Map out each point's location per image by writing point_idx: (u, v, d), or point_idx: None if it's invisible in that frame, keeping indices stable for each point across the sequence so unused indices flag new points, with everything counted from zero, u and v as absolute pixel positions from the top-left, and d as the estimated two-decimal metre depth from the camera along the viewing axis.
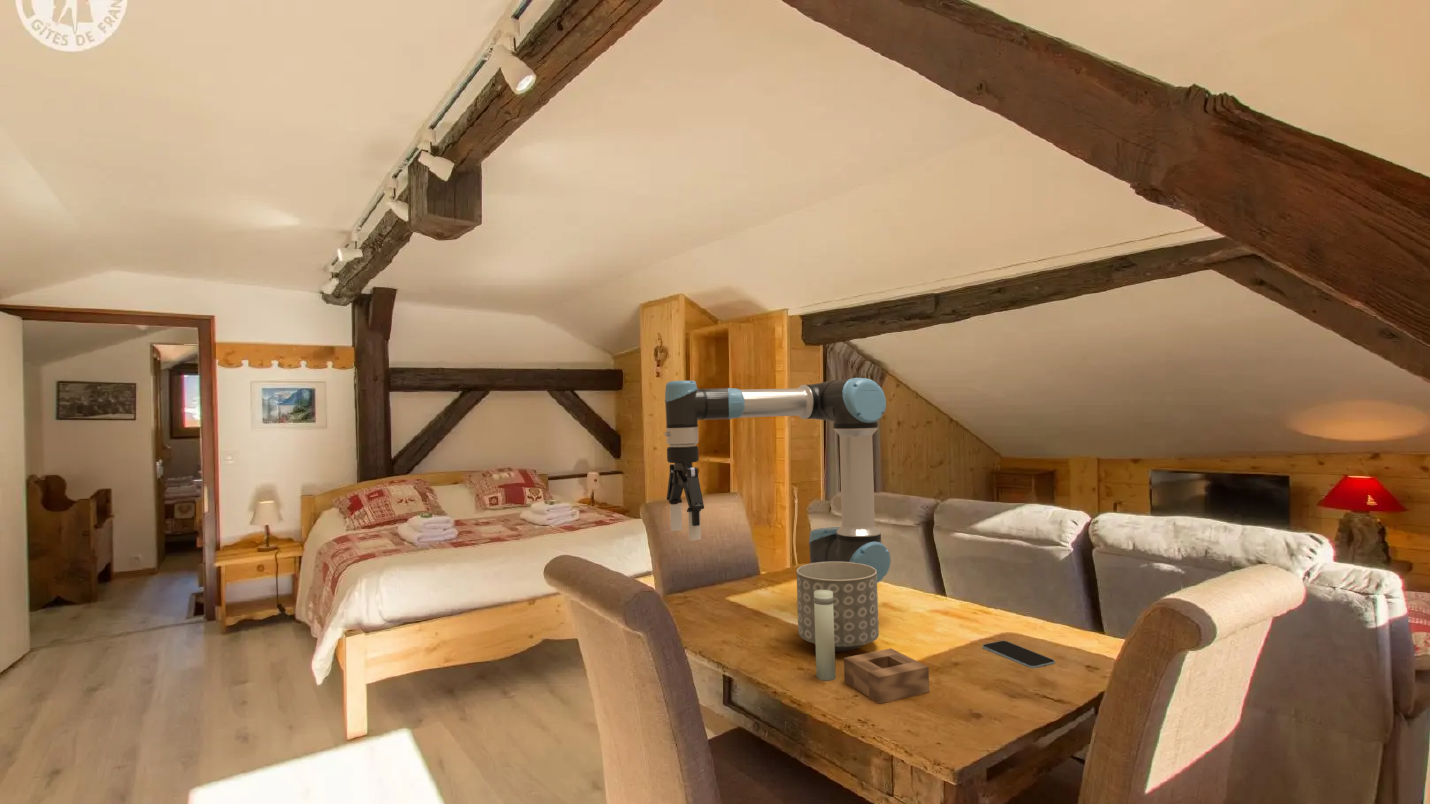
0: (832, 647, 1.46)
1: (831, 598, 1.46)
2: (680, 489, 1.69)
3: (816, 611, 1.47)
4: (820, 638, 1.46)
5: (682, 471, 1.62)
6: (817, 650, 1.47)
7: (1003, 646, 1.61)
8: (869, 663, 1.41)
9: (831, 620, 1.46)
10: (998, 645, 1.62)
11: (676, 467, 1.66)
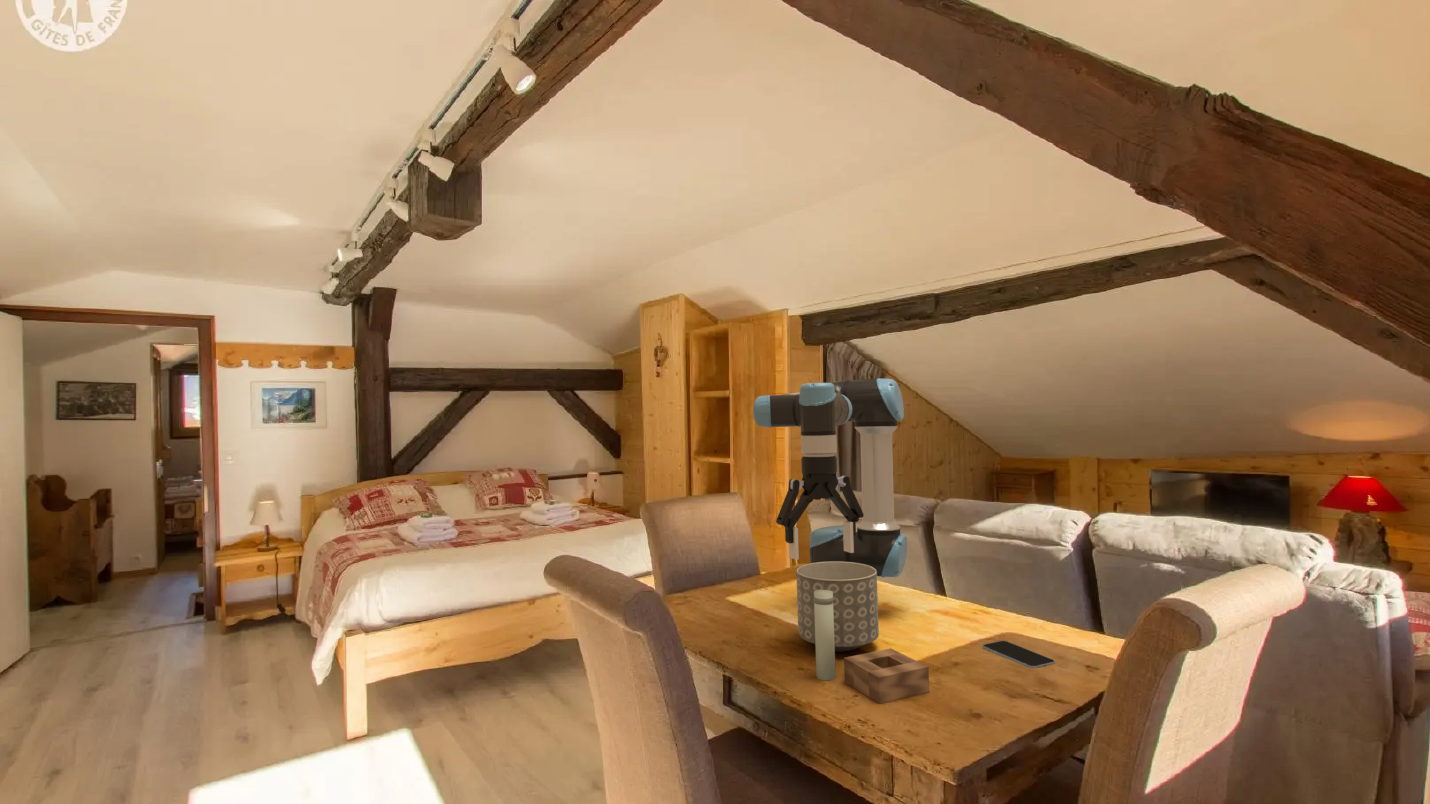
0: (832, 647, 1.46)
1: (831, 598, 1.46)
2: (838, 505, 1.49)
3: (816, 611, 1.47)
4: (820, 638, 1.46)
5: None
6: (817, 650, 1.47)
7: (1003, 646, 1.61)
8: (869, 663, 1.41)
9: (831, 620, 1.46)
10: (998, 645, 1.62)
11: None
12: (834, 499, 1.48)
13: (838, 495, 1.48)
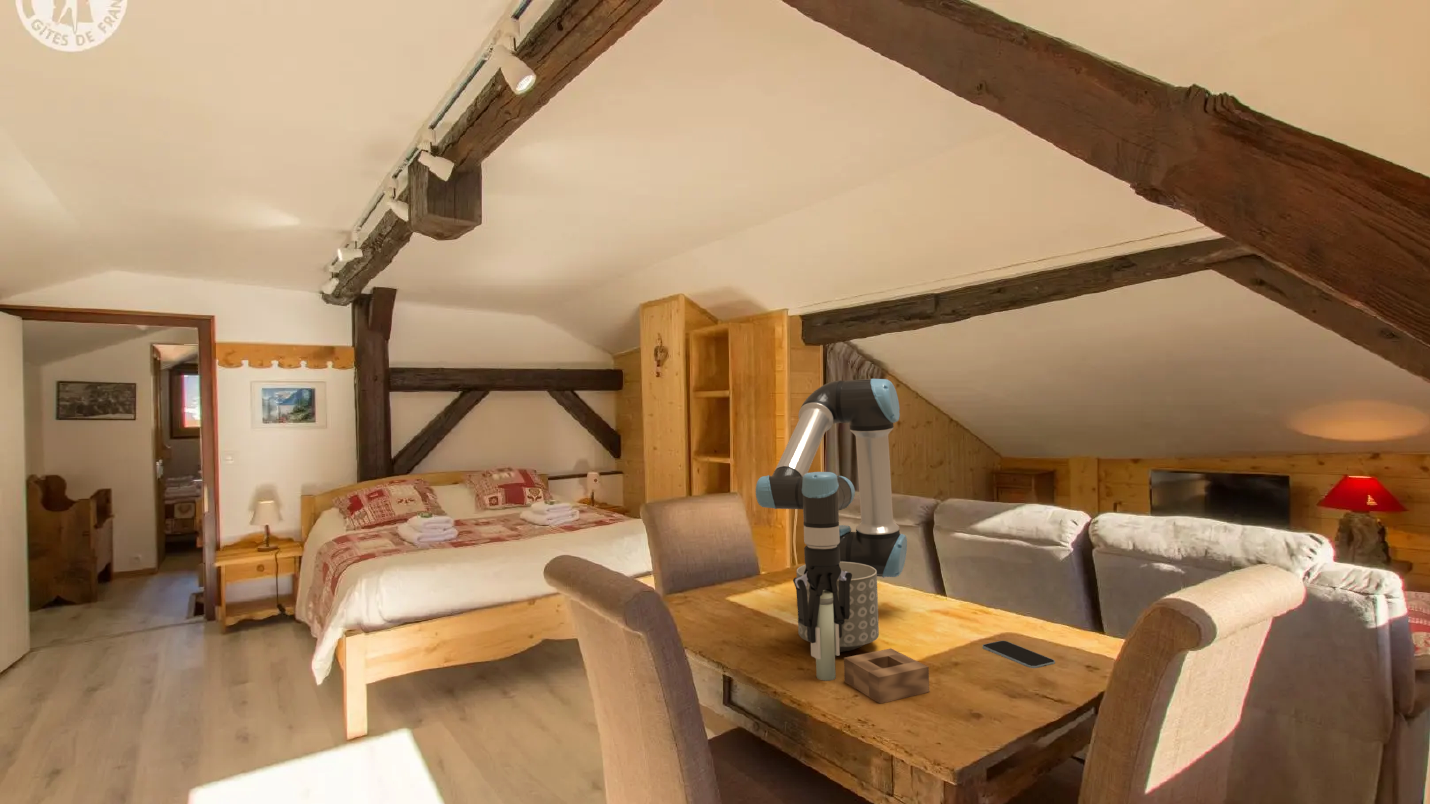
0: (832, 647, 1.46)
1: (831, 598, 1.46)
2: None
3: None
4: (820, 638, 1.46)
5: None
6: None
7: (1003, 646, 1.61)
8: (869, 663, 1.41)
9: (831, 620, 1.46)
10: (998, 645, 1.62)
11: None
12: None
13: (836, 590, 1.47)
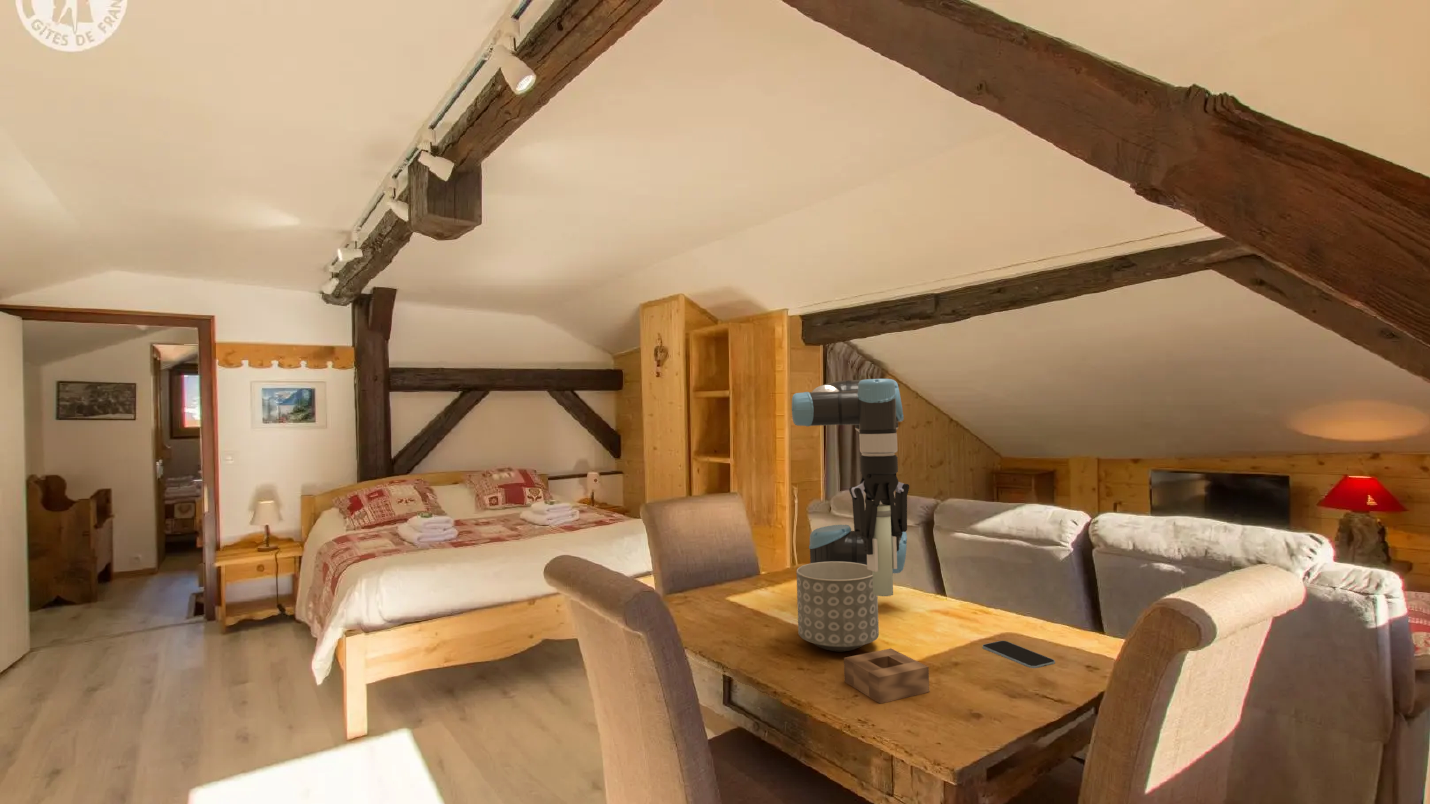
0: (890, 562, 1.40)
1: (889, 511, 1.40)
2: None
3: None
4: (878, 552, 1.40)
5: None
6: None
7: (1003, 646, 1.61)
8: (869, 663, 1.41)
9: (889, 534, 1.40)
10: (998, 645, 1.62)
11: None
12: (887, 502, 1.42)
13: (893, 500, 1.41)
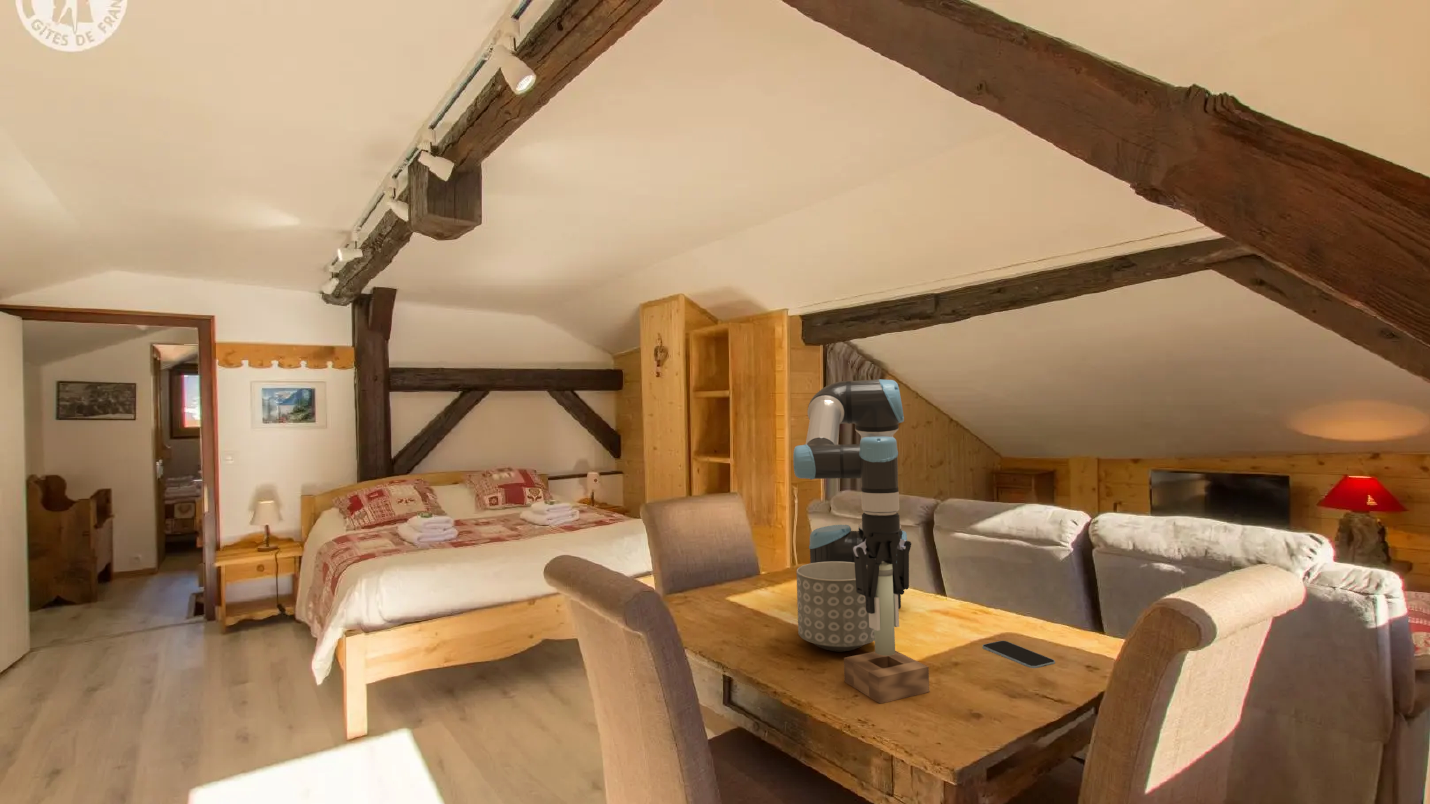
0: (891, 621, 1.40)
1: (891, 569, 1.40)
2: None
3: None
4: None
5: None
6: None
7: (1003, 646, 1.61)
8: (869, 663, 1.41)
9: (891, 593, 1.40)
10: (998, 645, 1.62)
11: None
12: (889, 561, 1.42)
13: (895, 558, 1.41)
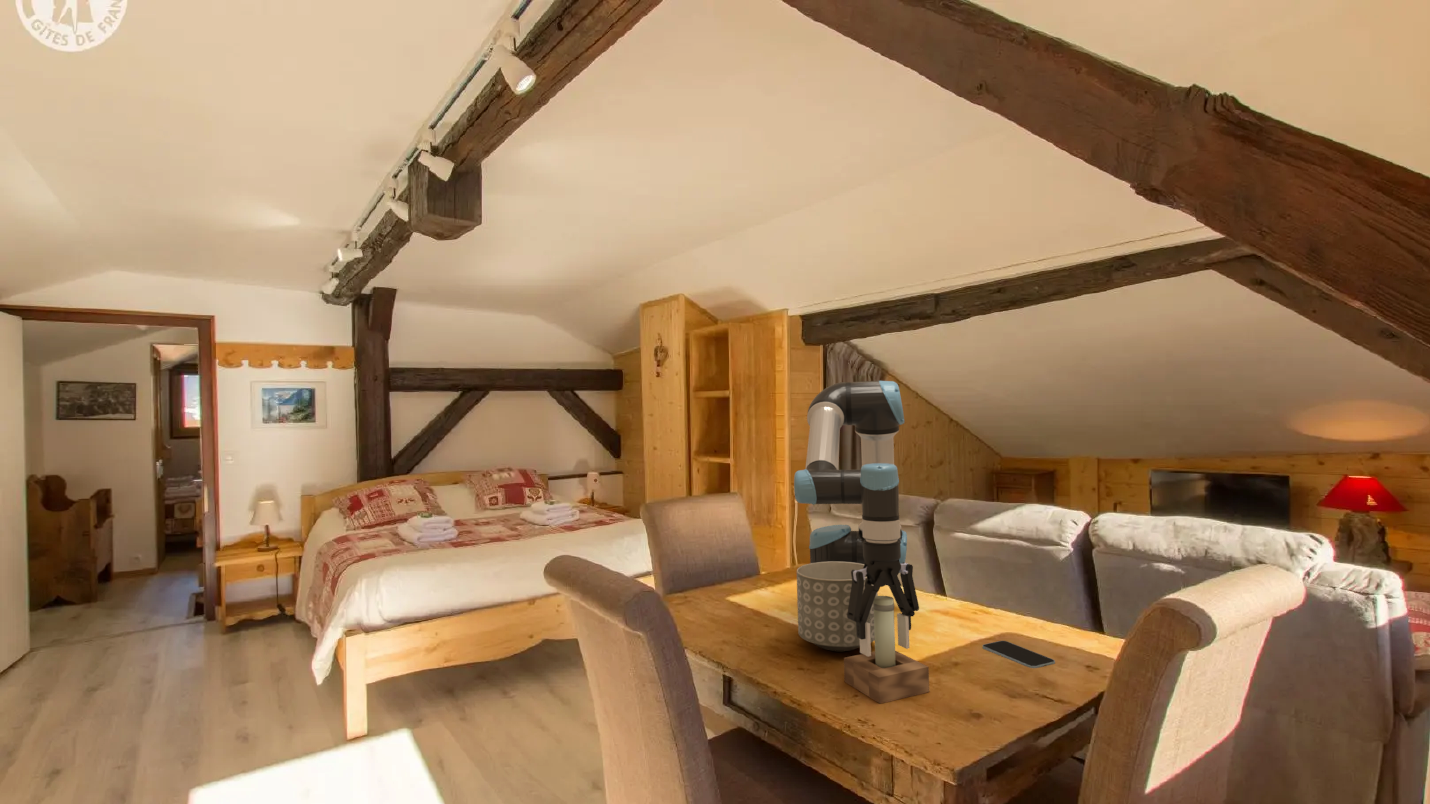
0: (893, 656, 1.40)
1: (892, 604, 1.40)
2: (897, 594, 1.42)
3: (876, 618, 1.41)
4: (881, 646, 1.40)
5: None
6: (877, 659, 1.41)
7: (1003, 646, 1.61)
8: (869, 663, 1.41)
9: (892, 628, 1.40)
10: (998, 645, 1.62)
11: None
12: (894, 587, 1.42)
13: (899, 584, 1.41)
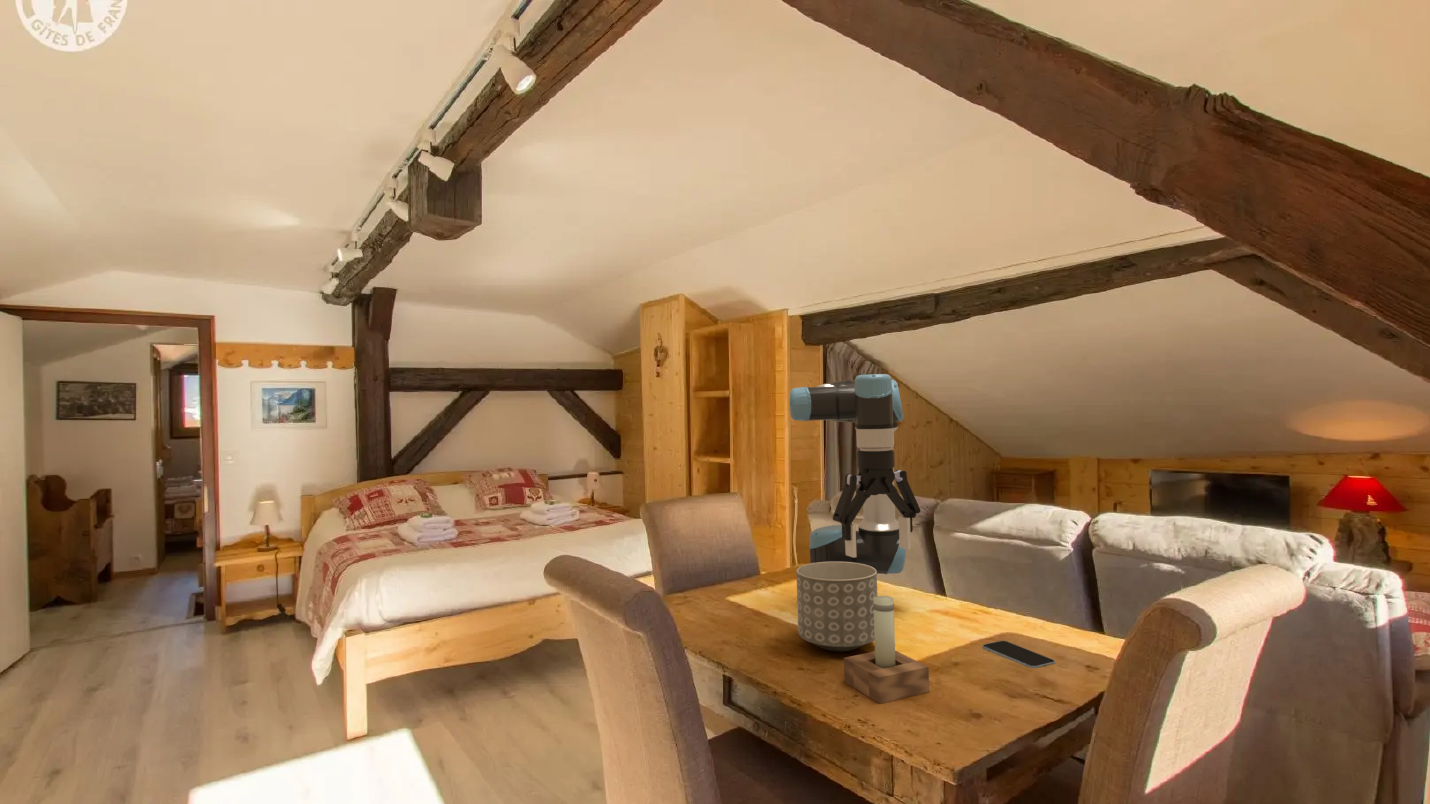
0: (893, 656, 1.40)
1: (892, 605, 1.40)
2: (895, 500, 1.44)
3: (876, 618, 1.41)
4: (881, 646, 1.40)
5: None
6: (877, 659, 1.41)
7: (1003, 646, 1.61)
8: (869, 663, 1.41)
9: (892, 628, 1.40)
10: (998, 645, 1.62)
11: None
12: (891, 494, 1.43)
13: (895, 490, 1.43)
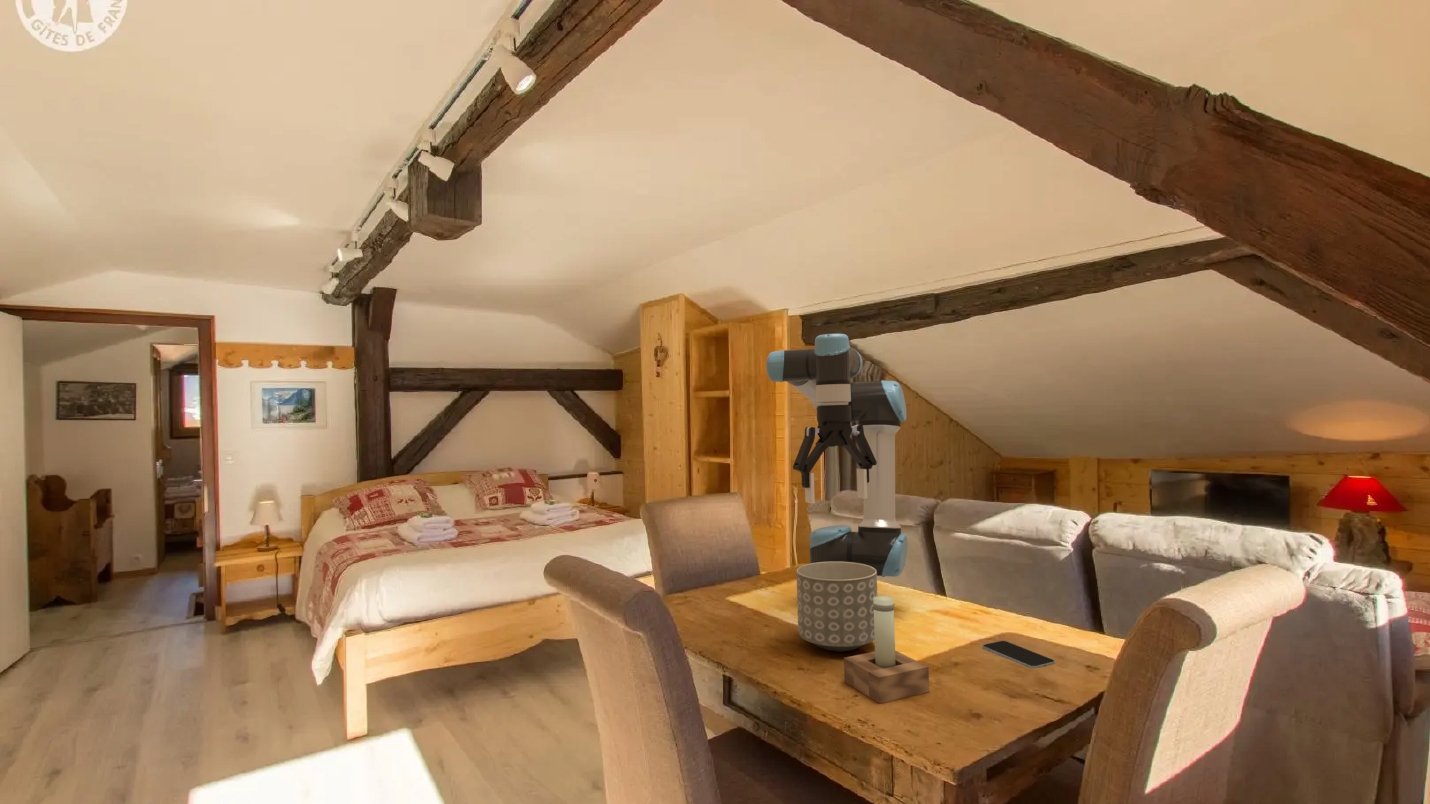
0: (893, 656, 1.40)
1: (892, 605, 1.40)
2: (852, 452, 1.54)
3: (876, 618, 1.41)
4: (881, 646, 1.40)
5: None
6: (877, 659, 1.41)
7: (1003, 646, 1.61)
8: (869, 663, 1.41)
9: (892, 628, 1.40)
10: (998, 645, 1.62)
11: None
12: (848, 446, 1.54)
13: (852, 442, 1.53)
